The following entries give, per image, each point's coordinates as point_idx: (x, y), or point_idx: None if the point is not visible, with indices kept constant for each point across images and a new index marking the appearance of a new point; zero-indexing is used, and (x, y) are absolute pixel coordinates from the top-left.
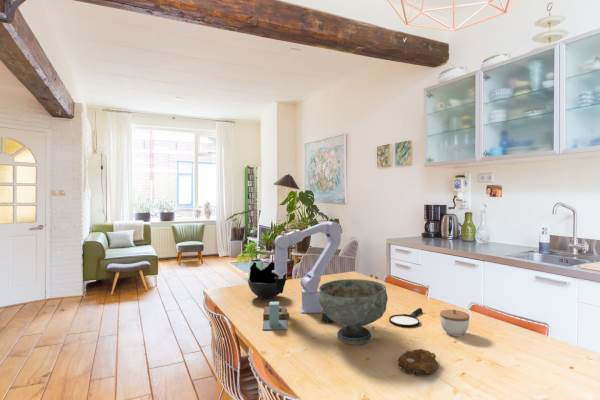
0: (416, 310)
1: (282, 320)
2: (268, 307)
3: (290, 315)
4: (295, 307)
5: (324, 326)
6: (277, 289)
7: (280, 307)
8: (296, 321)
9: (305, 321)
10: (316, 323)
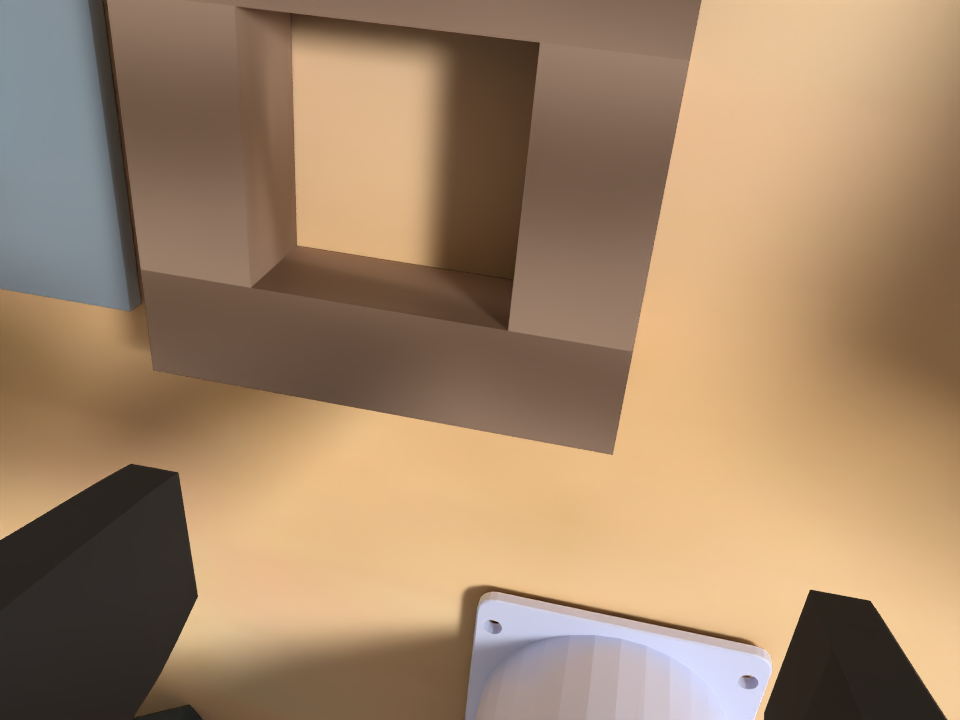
0: None
1: (100, 237)
2: (634, 16)
3: None
4: (836, 581)
5: None
6: (2, 543)
7: (570, 318)
8: (138, 433)
9: None
10: None
